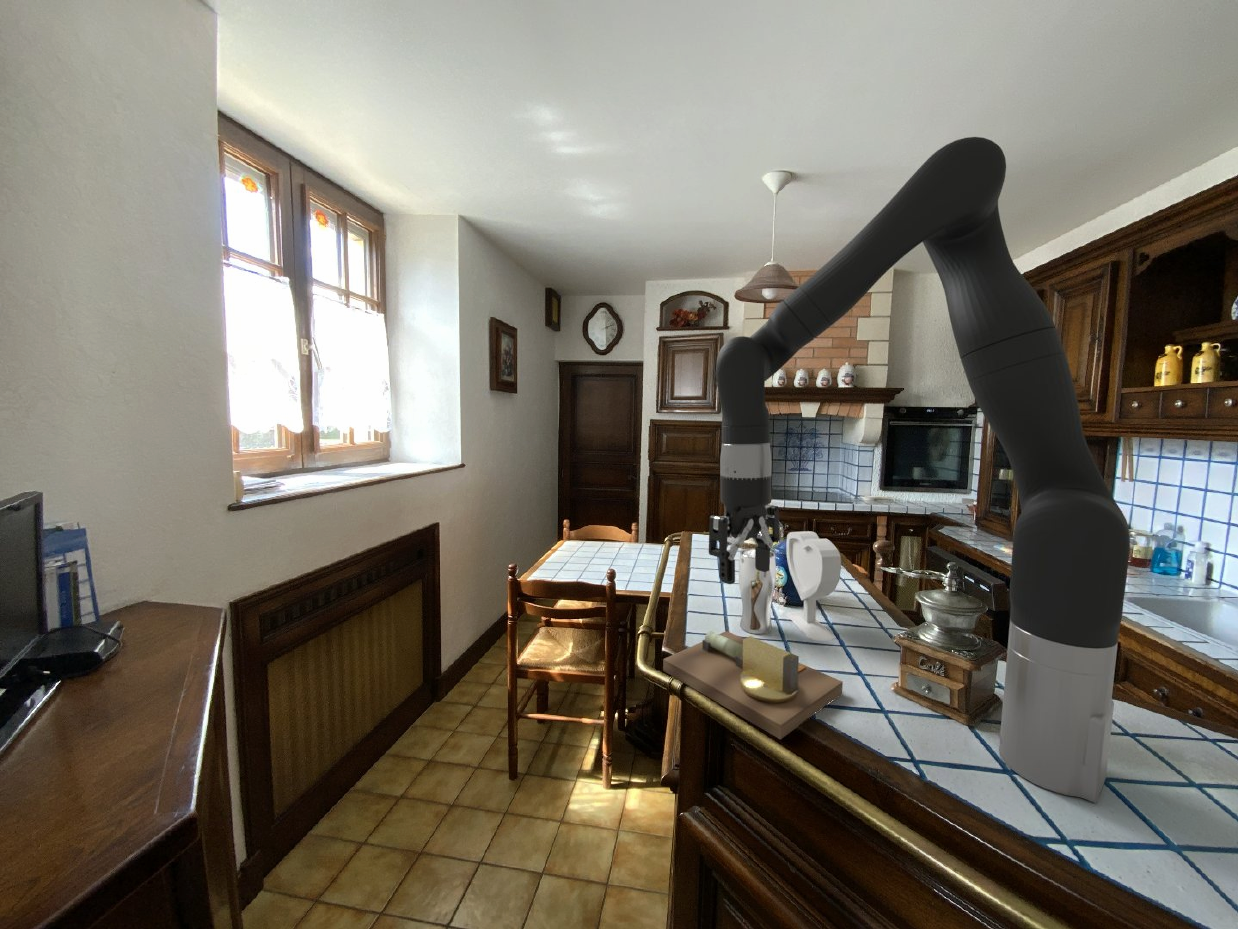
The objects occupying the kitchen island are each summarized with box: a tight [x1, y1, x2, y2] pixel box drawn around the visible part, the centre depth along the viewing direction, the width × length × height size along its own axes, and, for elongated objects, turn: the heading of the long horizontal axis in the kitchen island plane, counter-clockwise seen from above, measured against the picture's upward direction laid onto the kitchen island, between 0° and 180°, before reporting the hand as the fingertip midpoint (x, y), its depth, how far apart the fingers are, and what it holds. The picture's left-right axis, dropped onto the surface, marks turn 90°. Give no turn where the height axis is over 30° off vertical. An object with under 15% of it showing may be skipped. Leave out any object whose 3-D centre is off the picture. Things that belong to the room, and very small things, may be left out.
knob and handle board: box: [662, 630, 843, 740], centre depth 77 cm, size 22×16×5 cm
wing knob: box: [740, 635, 800, 703], centre depth 72 cm, size 8×8×6 cm
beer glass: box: [738, 547, 777, 635], centre depth 96 cm, size 7×7×15 cm
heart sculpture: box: [784, 530, 842, 642], centre depth 97 cm, size 16×5×18 cm, turn 5°
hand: (745, 576), depth 77 cm, fingers open, 8 cm apart
